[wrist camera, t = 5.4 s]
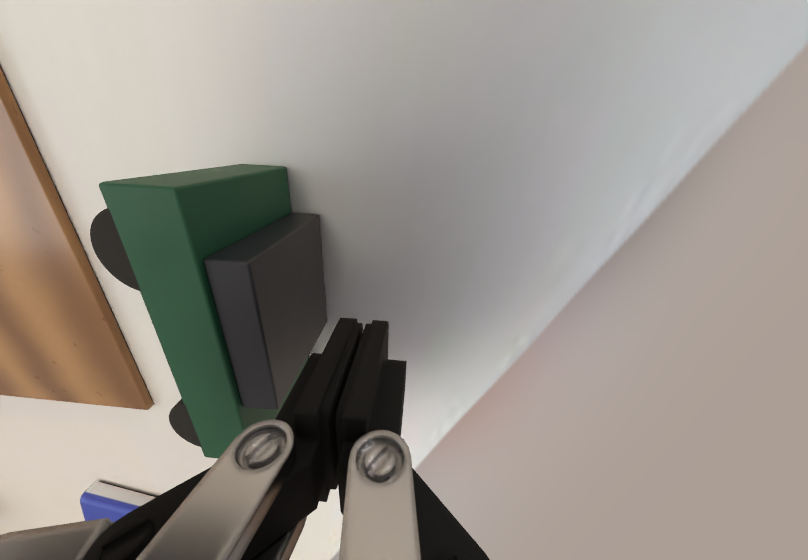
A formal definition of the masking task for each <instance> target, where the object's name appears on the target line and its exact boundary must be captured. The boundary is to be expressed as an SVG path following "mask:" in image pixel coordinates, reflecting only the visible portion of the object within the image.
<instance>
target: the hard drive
mask: <svg viewBox="0 0 808 560" xmlns="http://www.w3.org/2000/svg"><path fill="white" fill-rule="evenodd" d="M154 498H156V497H153V496H149V495H145V494H142V493H138V492H134V491H131V490H127V489H123V488H119V487H116V486H112V485H109V484H105V483H101V482H97V481H95V482H94V483H93V484H92V485H91V486H90V487H89V488H88V489H87V490H86V491H85V492H84V493H83V494H82V496H81V498H80V504H81V507H82V511H83V515H84V518H85V521H90V520H96V519H103V518H109V519H110V521H111V522H114V521H117V520H118V519H120V518H122V517H123V516H125V515H126V514H128V513H129V512H131V511H133V510H134V509H136V508H138V507H140V506H142V505H144V504H145V503H147V502H149V501H151V500H153V499H154Z"/></svg>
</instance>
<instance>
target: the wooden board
mask: <svg viewBox="0 0 808 560" xmlns="http://www.w3.org/2000/svg"><path fill="white" fill-rule="evenodd" d="M0 395H7V396H17V397H27V398H37V399H46V400H56V401H66V402H76V403H85V404H95V405H105V406H115V407H125V408H134V409H144V410H148V409H150V408H151V407H152V406H153V402H152V400H151V397H150V395H149V393H148V391H147V389H146V386H145V384H144V382H143V380H142V378H141V375H140V373H139V371H138V369H137V367H136V364H135V362H134V360H133V358H132V356H131V353H130V351H129V349H128V347H127V345H126V342H125V340H124V338H123V336H122V334H121V331H120V329H119V327H118V325H117V323H116V321H115V318H114V316H113V314H112V312H111V310H110V307H109V305H108V303H107V301H106V299H105V296H104V294H103V292H102V290H101V288H100V285H99V283H98V281H97V279H96V277H95V274H94V272H93V270H92V268H91V266H90V263H89V261H88V259H87V257H86V255H85V252H84V250H83V248H82V246H81V244H80V241H79V239H78V237H77V235H76V233H75V230H74V228H73V226H72V224H71V222H70V219H69V217H68V215H67V213H66V211H65V208H64V206H63V204H62V202H61V200H60V197H59V195H58V193H57V191H56V189H55V186H54V184H53V182H52V180H51V178H50V175H49V173H48V171H47V169H46V167H45V164H44V162H43V160H42V158H41V156H40V153H39V151H38V149H37V147H36V145H35V142H34V140H33V138H32V136H31V134H30V132H29V129H28V127H27V125H26V123H25V121H24V118H23V116H22V114H21V112H20V110H19V107H18V105H17V103H16V101H15V99H14V96H13V94H12V92H11V90H10V88H9V85H8V83H7V81H6V79H5V77H4V74H3V72H2V70H1V68H0Z"/></svg>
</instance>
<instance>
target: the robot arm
mask: <svg viewBox="0 0 808 560" xmlns="http://www.w3.org/2000/svg"><path fill="white" fill-rule="evenodd" d="M388 329H389V323H388V321H379V320H372V323H371V324H366V325H365V328H364V331H363V326H362V323H357V319H353V318H340V319H339V321H338V323H337V325H336V327H335V329H334V331H333V333H332V335H331V337H330V339H329V341H328V343H327V345H326V347H325V349H324V351H323V353H322V354H316V353H313V354H311V356H310V357H309V359H308V361H307V362H306V364H305V366H304V368H303V370H302V371H301V373H300V375H299V377H298V379H297V381H296V382H295V384H294V386H293V388H292V390H291V391H290V393H289V395H288V397H287V399H286V401H285V402H284V404H283V406H282V408H281V410H280V411H279V413H278V415H277V417H276V419H275V420H274V419H270V420H264V421H260V422H258V423H255V424H253V425H251V426H249V427H248V428H246V429H245V430H243V431H242V432H241V433H240V434H239V435H238V436H237V437H236V438H235V439H234V440H233V442H232V443H231V444H230V445H229V447H228V448H227V449H226V450H225V451H224V453H223V454H222V455H221V456H220V457H219V459H218V460H217V461H216V462H215V464H214V465H213V466H212V467H210V468H209V469H207V470H205V471H203V472H201V473H200V474H198V475H196V476H194V477H192V478H191V479H189V480H187V481H185V482H183V483H182V484H180V485H178V486H176V487H174V488H172V489H171V490H169V491H167V492H165V493H163V494H162V495H160V496H158V497H156V498H154V499H153V500H151V501H149V502H147V503H145V504H144V505H142V506H140V507H138V508H136V509H134V510H133V511H131V512H129V513H128V514H126V515H125V516H123V517H122V518H120V519H118V520H117V521H114V522H111V521H110V519H109V518H103V519H96V520H90V521H83V522H76V523H70V524H63V525H56V526H50V527H43V528H36V529H29V530H23V531H16V532H10V533H6V534H3V535H0V560H289V558H290V556H291V554H292V552H293V550H294V547H295V545H296V543H297V541H298V539H299V536H300V534H301V532H302V530H303V528H304V525H305V521H306V518H307V516H308V515H309V514H310V513H311V512H313V511H314V510H315V509H317V506H318V502H319V501H323V502H327V499H328V495H329V492H330V489H336V488H337V486H339V497H340V508H341V512H342V514H343V524H342V534H341V544H340V554H339V560H489V558H488V557H487V555H486V554H485V553H484V551H483V550H482V549H481V548H480V547H479V545H478V544H477V543H476V542H475V541H474V540H473V538H472V537H471V536H470V535H469V534H468V532H466V530H465V529H464V528H463V527H462V526H461V524H460V523H459V522H458V521H457V520H456V518H454V516H453V515H452V514H451V513H450V511H449V510H448V509H447V508H446V507H445V506H444V505H443V504H442V502H441V501H440V500H439V499H438V497H437V496H436V495H435V494H434V493H433V492H432V490H431V489H430V488H429V487H428V486H427V484H426V483H425V482H424V481H423V480H422V479H421V478H420V476H419V475H418V474H417V473H416V472H415V470H414V469H413V468H412V462H411V454H410V451H409V447H408V445H407V444H406V442H405V441H404V439H402V438H401V437H400V436H401V426H402V415H403V405H404V393H405V379H406V361H399V360H388Z"/></svg>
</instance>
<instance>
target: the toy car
mask: <svg viewBox="0 0 808 560" xmlns="http://www.w3.org/2000/svg"><path fill="white" fill-rule="evenodd" d="M99 187H100V190H101V192H102V195H103V197H104V200H105V202H106V205H107V209H105V210H103V211H101V212H100V213H99V214H98V215H97V216H96V217H95V218H94V220H93V222H92V224H91V229H90V237H91V242H92V246H93V248H94V251H95V253H96V255H97V257H98V258H99V260H100V261H101V263H102V264H103V265H104V267H105V268H106V269H107V270H108V271H109V272H110V273H111V274H112V275H113V276H114V277H116V278H117V279H118V280H119V281H121V282H122V283H124V284H126V285H127V286H129V287H131V288H133V289H136V290H138V291H140V292H141V295H142V297H143V300H144V302H145V305H146V307H147V310H148V312H149V315H150V318H151V320H152V323H153V325H154V328H155V330H156V333H157V335H158V338H159V341H160V343H161V346H162V348H163V351H164V353H165V356H166V359H167V361H168V364H169V366H170V369H171V371H172V374H173V376H174V379H175V382H176V384H177V387H178V389H179V392H180V394H181V397H182V399H181V400H180V401H179V402H178V403H177V404H176V405H175V406H174V407H173V408H172V410H171V412H170V415H169V421H170V424H171V426H172V428H173V429H174V430H175V432H176V433H177V434H178V435H179V436H181V437H182V438H183V439H185V440H186V441H188V442H190V443H192V444H194V445H197V446H200V447H201V448H202V451H203V453H204V456H205V457H211V458H219V457H220V456H221V455H222V454H223V453H224V451H225V450H226V449H227V448H228V447H229V445H230V444H231V443H232V442H233V440H234V439H235V438H236V437H237V436H238V435H239V434H240V433H241V432H242V431H243V430H245V429H246V428H248V427H249V426H251V425H253V424H255V423H258V422H260V421H264V420H270V419H274V420H275V419H276V417H277V415H278V413H279V411H280V410H281V408H282V406H283V404H284V402H285V401H286V399H287V397H288V395H289V393H290V391H291V390H292V388H293V386H294V384H295V382H296V381H297V379H298V377H299V375H300V373H301V371H302V370H303V368H304V366H305V364H306V362H307V361H308V359H309V356H308V355H309V353H310V351H311V349H312V348H313V346H314V344H315V342H316V340H317V339H318V337H319V335H320V333H321V331H322V330H323V328H324V326H325V324H326V322H327V312H326V299H325V287H324V274H323V262H322V249H321V236H320V224H319V215H316V214H301V213H291V205H290V197H289V189H288V180H287V172H286V167H282V166H265V165H248V164H239V165H231V166H224V167H216V168H208V169H200V170H192V171H185V172H177V173H169V174H161V175H153V176H146V177H138V178H130V179H122V180H114V181H106V182H102V183H100V184H99Z"/></svg>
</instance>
